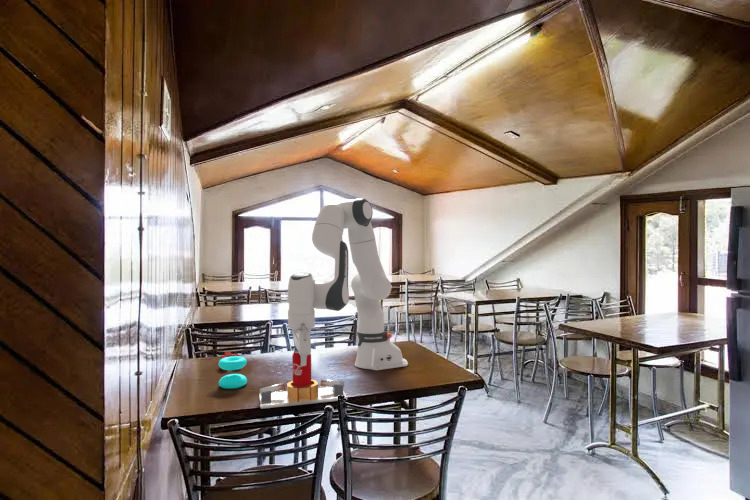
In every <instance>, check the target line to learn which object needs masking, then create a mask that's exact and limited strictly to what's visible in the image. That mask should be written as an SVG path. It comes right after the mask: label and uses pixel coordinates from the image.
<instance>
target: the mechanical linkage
mask: <svg viewBox="0 0 750 500" xmlns="http://www.w3.org/2000/svg"><path fill="white" fill-rule="evenodd" d="M231 356H240V355H239V353H234V354H233V353H232V352H231V351H225V352H224V353H223V354H222V355H220V360H221V359H223V358H225V357H231ZM221 370H222V371H226V370H224V369H221Z"/></svg>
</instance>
